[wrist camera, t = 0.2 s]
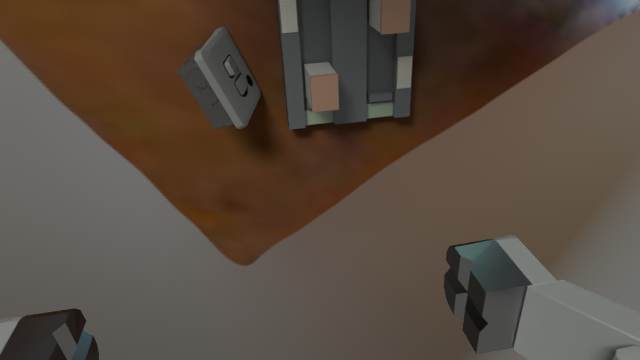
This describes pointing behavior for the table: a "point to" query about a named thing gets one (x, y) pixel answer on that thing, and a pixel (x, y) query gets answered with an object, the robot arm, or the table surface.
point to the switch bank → (344, 60)
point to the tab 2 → (390, 16)
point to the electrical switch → (221, 81)
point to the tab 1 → (321, 86)
